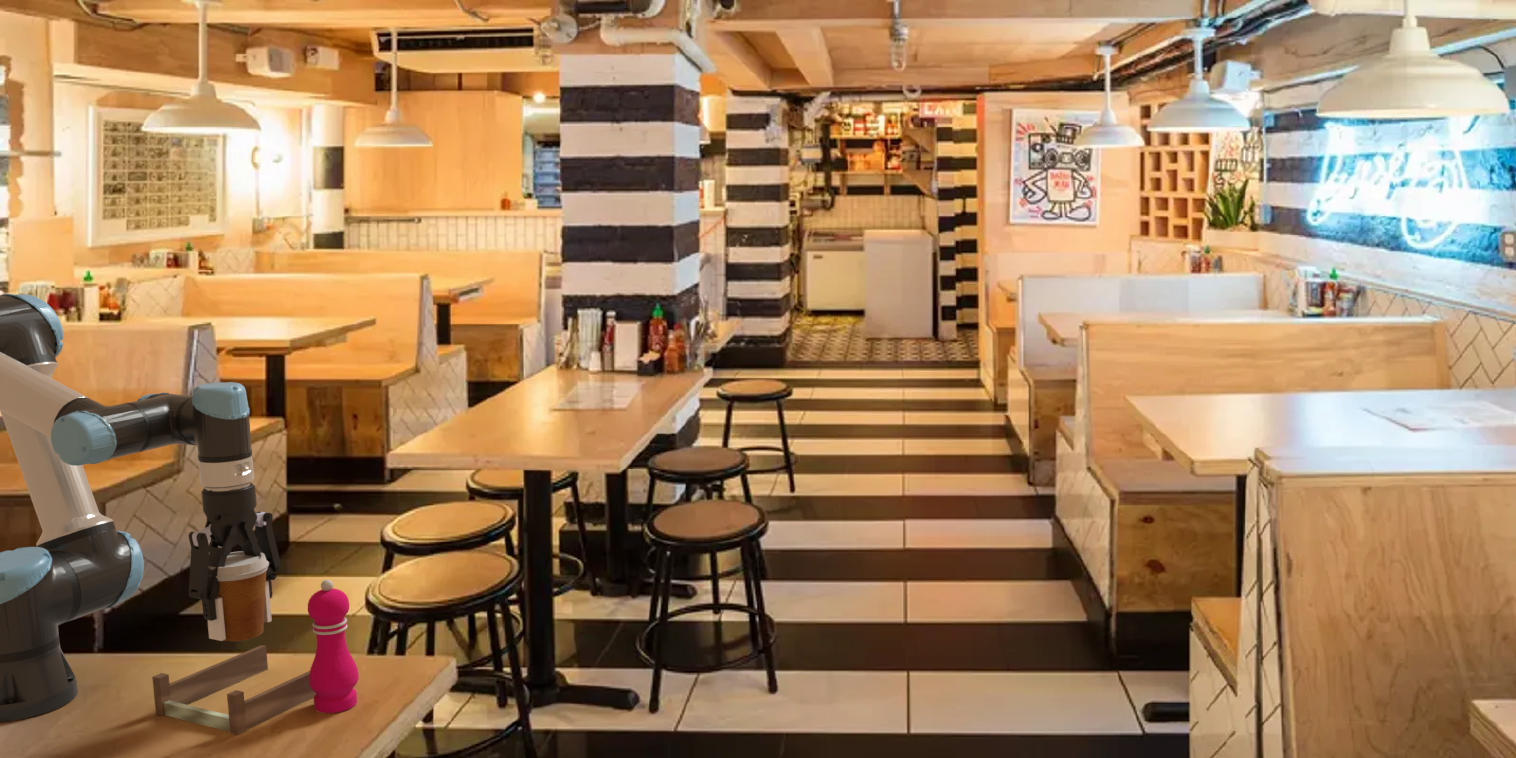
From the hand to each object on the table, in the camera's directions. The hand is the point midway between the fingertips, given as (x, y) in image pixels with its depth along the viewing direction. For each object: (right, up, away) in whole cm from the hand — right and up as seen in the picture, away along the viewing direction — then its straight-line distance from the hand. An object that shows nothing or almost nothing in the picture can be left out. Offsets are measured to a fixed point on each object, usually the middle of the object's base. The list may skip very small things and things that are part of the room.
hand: (241, 629), depth 194 cm
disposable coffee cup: (0, -1, 0) cm, 1 cm away
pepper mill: (+15, -12, 0) cm, 19 cm away
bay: (+1, -11, +3) cm, 12 cm away
